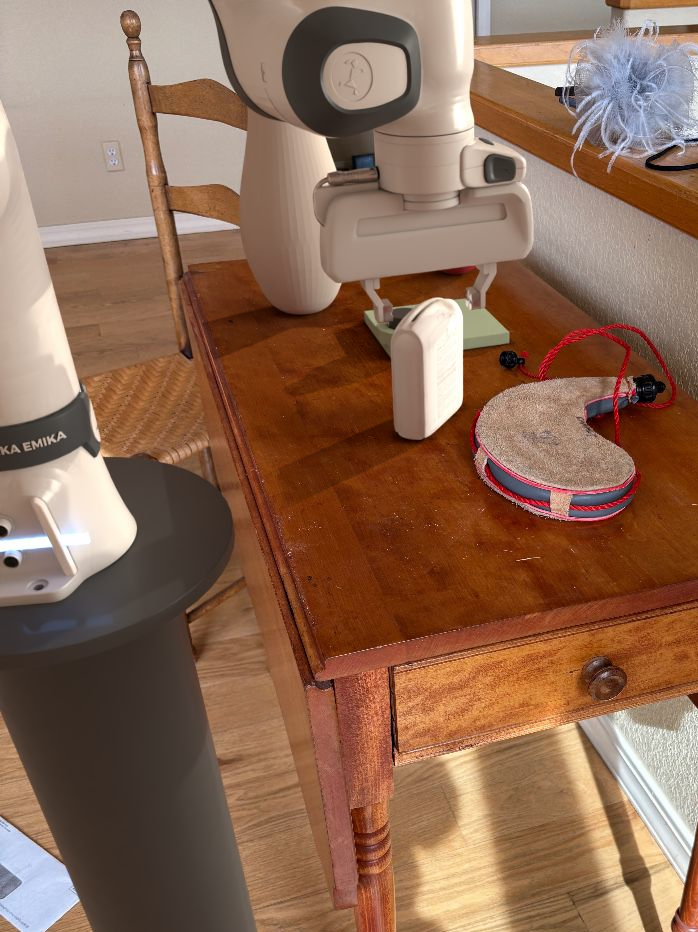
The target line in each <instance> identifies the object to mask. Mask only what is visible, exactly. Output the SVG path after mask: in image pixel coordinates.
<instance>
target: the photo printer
mask: <svg viewBox="0 0 698 932" xmlns="http://www.w3.org/2000/svg"><path fill="white" fill-rule="evenodd" d="M453 300H454V299H451V298H442V297H432V298H429V299H426V300H424V301H421V303H420V302H419V305H417V304H416V305H417V306H416V307H415V308H413V309H412V310H411V311H410V312H409V313H408V314H407V315H406V316H405V317H404V318H403V319H402V320H401V322H400V323H399V324H398V326H397V328H396V329H395V331H394V333H393V336H392V339H391V358H390V360H391V364H390V366H391V387H392V406H393V408H392V410H393V426H394V431H395V432H396V433H398V435H399V436H400V437H401V438H404V439H407V440H412V441H418V440H419V441H421V440H423V439H427V438H428V437H430V436H432V435H433V434H434V433H435V432H436V431H437V430H438V429H439V428H441V426H442V425H444V424H445V423H446V422H447V421H448V420H450V418H451V417H452V416H453V415H454V414H456V412H457V411H458V410H459V409H460V407H461V406H462V404H463V401H464V400H463V398H464V358H463V356H464V350H463V316H462V312H461V310H460V308H459V306H458V305H457V303H456V302H455V301H453Z"/></svg>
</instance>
